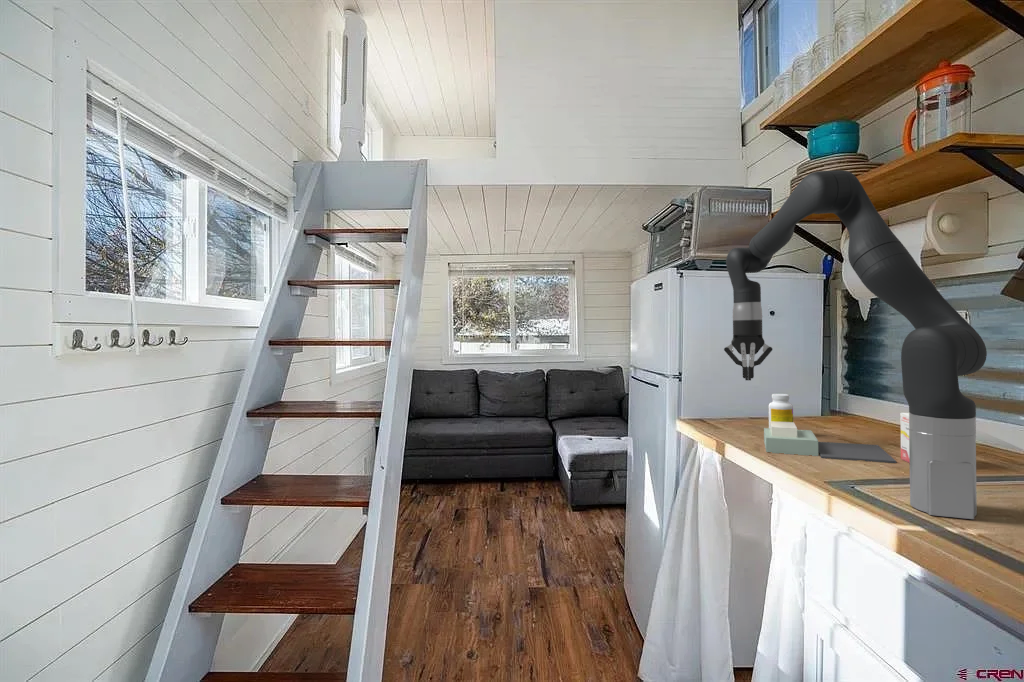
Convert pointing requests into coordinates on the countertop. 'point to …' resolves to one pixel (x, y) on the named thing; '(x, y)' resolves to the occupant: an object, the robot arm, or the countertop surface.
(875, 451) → the mat
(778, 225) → the robot arm
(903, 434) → the ink cartridge box
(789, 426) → the tile
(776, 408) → the supplement bottle
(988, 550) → the countertop surface
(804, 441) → the block
